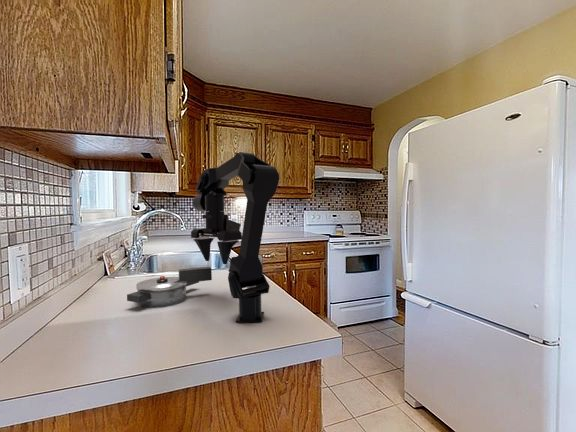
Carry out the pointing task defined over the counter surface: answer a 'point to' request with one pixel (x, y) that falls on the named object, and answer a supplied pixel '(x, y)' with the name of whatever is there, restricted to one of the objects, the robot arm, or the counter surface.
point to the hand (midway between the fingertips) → (216, 262)
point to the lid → (176, 279)
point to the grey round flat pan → (159, 297)
